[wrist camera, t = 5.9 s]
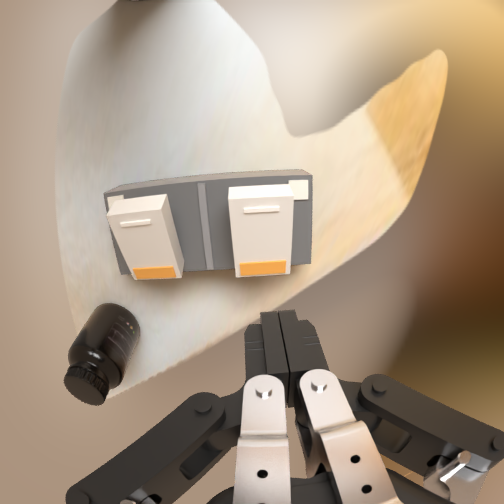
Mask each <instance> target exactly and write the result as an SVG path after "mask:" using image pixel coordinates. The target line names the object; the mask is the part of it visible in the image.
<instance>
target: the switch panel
mask: <svg viewBox="0 0 504 504" xmlns="http://www.w3.org/2000/svg"><path fill="white" fill-rule="evenodd" d="M279 184H289V185H290V188H291V190H292V193H293V195H294V206H293V229H292V249H291V265H300V264H311V246H312V175H311V174H310V173H308V172H306V171H304V170H302V169H301V170H268V171H248V172H232V173H219V174H207V175H196V176H186V177H177V178H169V179H161V180H153V181H146V182H138V183H132V184H125V185H120V186H118V187H116V188H114V189H112V190H110V191H108V192H105V193H104V199H105V204H106V210H107V213H108V212H109V210H110V208H111V206H112V205H113V203H114V201H115V200H122V199H130V198H137V197H145V196H153V195H162V194H167V197H168V201H169V205H170V209H171V213H172V217H173V221H174V225H175V229H176V233H177V236H178V240H179V244H180V247H181V251H182V255H183V258H184V267H183V272H186V271H204V270H222V269H235V263H234V253H233V244H232V234H231V224H230V213H229V203H228V194H229V187H240V186H257V185H279ZM109 225H110V224H109ZM110 230H111V235H112V240H113V244H114V248H115V252H116V257H117V261H118V265H119V268H120V272H121V275H123V274H131V272H130V270H129V267H128V265H127V263H126V261H125V259H124V257H123V254H122V252H121V250H120V248H119V245H118V243H117V241H116V239H115V236H114V234H113V231H112V229H111V227H110Z"/></svg>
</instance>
